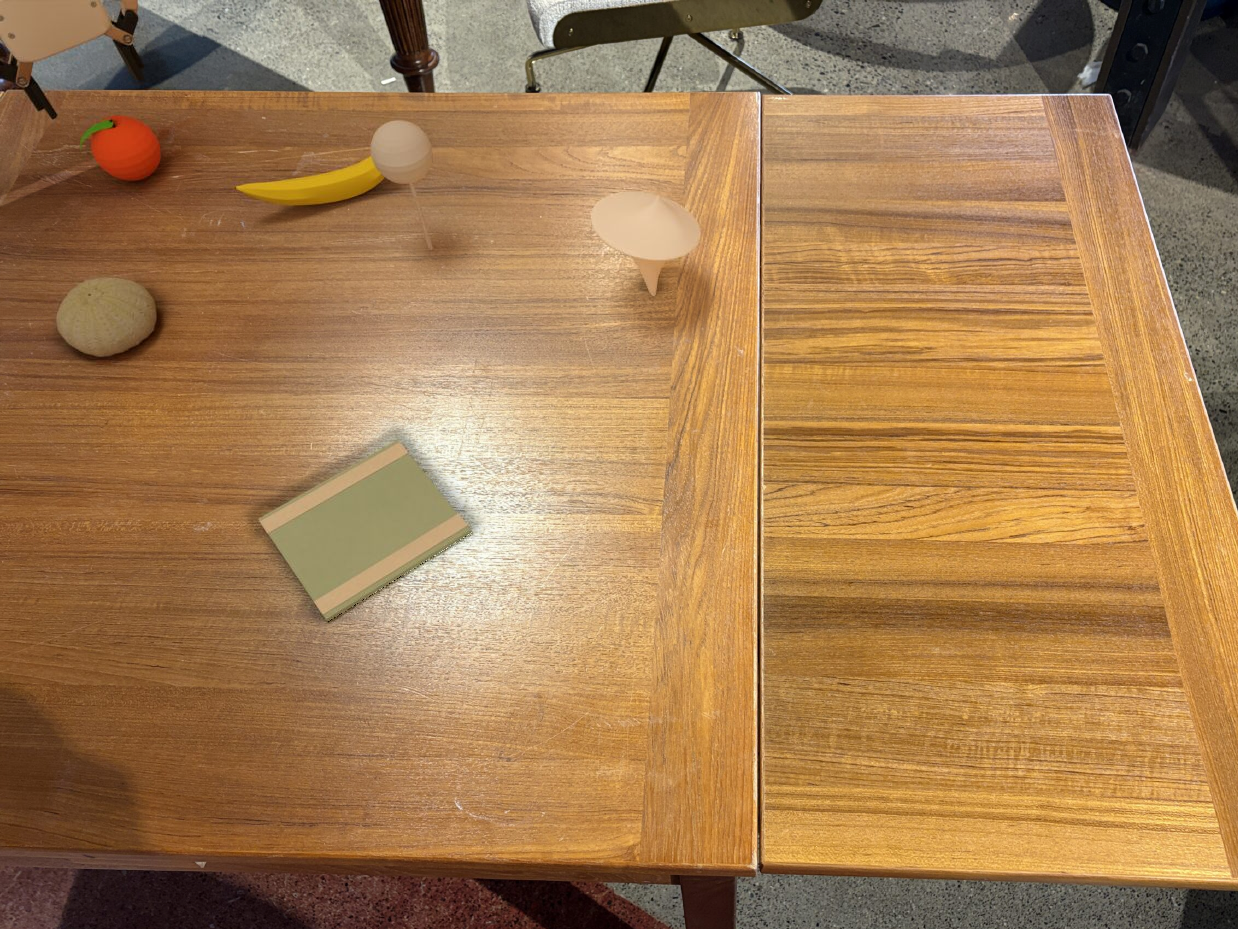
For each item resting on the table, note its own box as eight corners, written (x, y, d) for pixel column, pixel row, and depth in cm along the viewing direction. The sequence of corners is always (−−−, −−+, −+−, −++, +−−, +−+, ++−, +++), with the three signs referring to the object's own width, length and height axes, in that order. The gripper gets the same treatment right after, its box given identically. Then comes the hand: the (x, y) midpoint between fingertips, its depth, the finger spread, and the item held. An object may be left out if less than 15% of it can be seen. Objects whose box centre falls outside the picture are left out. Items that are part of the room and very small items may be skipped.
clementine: (107, 204, 114) (73, 150, 108) (94, 171, 118) (61, 116, 112) (178, 180, 116) (149, 126, 110) (163, 148, 120) (134, 94, 114)
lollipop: (397, 238, 110) (356, 116, 98) (449, 224, 111) (415, 100, 99) (411, 274, 107) (370, 152, 94) (465, 259, 108) (432, 136, 96)
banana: (250, 216, 113) (226, 168, 107) (415, 168, 117) (400, 120, 112) (255, 232, 111) (232, 184, 106) (422, 183, 115) (407, 134, 110)
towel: (328, 622, 84) (325, 618, 83) (260, 522, 89) (257, 518, 89) (472, 533, 88) (470, 528, 88) (399, 443, 94) (397, 438, 94)
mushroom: (677, 249, 108) (673, 152, 98) (718, 314, 103) (718, 219, 93) (586, 277, 106) (572, 181, 96) (623, 345, 101) (612, 251, 91)
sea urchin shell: (85, 369, 97) (30, 295, 95) (92, 376, 104) (41, 308, 102) (174, 323, 101) (122, 250, 98) (175, 333, 108) (127, 265, 105)
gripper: (73, -117, 99) (158, 48, 113) (-110, -54, 93) (3, 111, 107) (101, -89, 95) (185, 78, 110) (-87, -22, 90) (27, 144, 104)
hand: (95, 94), depth 109 cm, fingers open, 9 cm apart
